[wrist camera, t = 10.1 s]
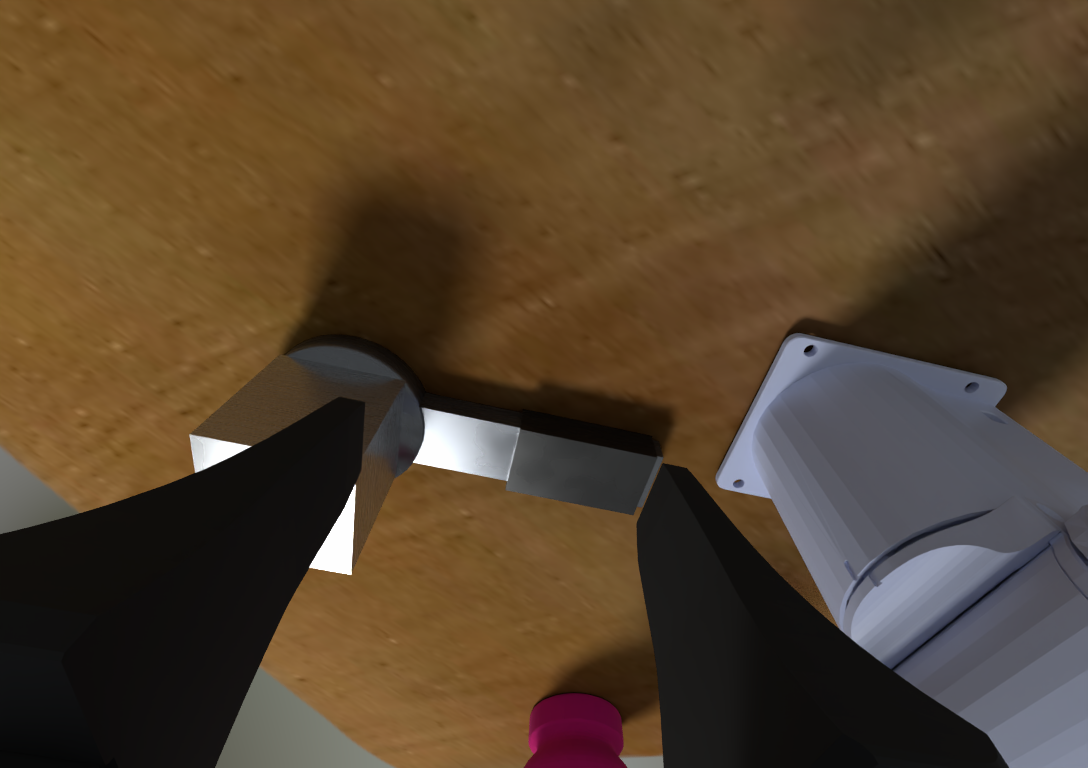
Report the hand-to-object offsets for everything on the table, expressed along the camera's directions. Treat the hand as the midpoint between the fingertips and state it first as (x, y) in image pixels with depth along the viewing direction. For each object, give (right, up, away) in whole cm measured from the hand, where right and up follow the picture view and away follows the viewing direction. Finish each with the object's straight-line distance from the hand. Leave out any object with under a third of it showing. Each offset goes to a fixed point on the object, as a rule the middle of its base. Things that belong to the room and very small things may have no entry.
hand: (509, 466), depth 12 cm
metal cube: (-8, +1, +9) cm, 12 cm away
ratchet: (-3, 0, +11) cm, 11 cm away
